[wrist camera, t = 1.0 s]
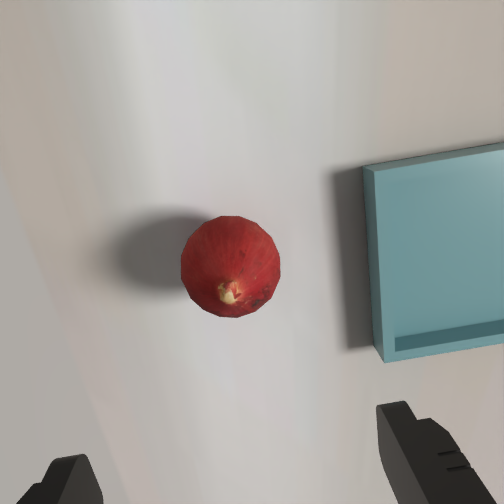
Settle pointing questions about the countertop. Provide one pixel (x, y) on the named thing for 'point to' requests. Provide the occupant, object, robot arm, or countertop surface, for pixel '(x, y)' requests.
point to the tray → (436, 252)
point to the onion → (230, 266)
